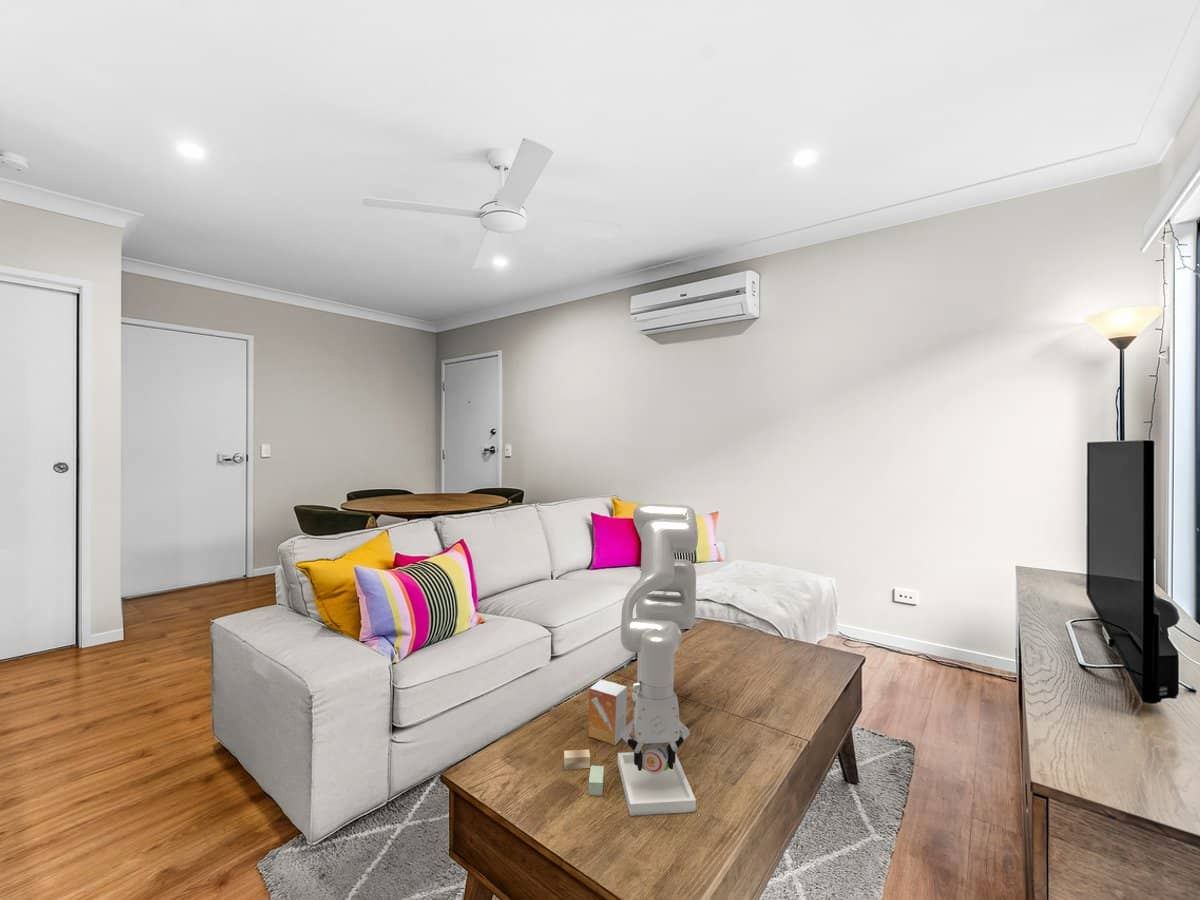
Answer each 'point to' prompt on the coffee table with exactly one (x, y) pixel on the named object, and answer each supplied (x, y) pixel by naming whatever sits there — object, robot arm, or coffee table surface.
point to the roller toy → (655, 758)
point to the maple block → (576, 759)
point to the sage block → (596, 780)
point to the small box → (607, 711)
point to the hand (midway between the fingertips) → (654, 765)
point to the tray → (655, 788)
